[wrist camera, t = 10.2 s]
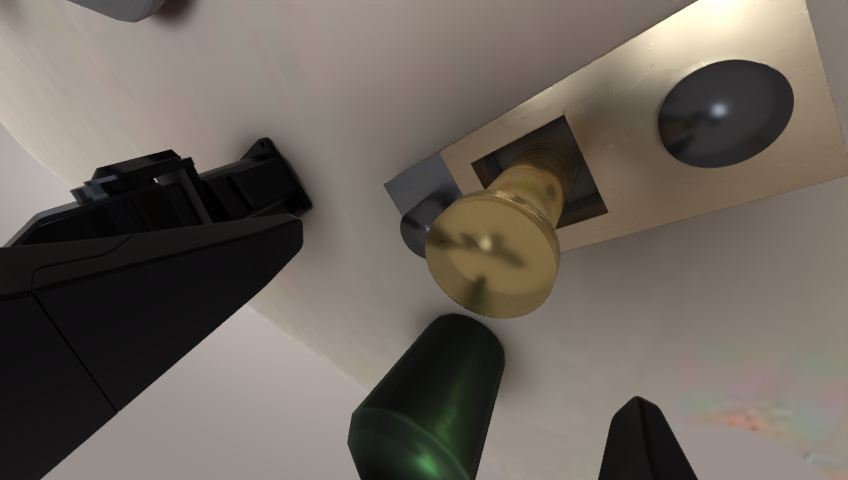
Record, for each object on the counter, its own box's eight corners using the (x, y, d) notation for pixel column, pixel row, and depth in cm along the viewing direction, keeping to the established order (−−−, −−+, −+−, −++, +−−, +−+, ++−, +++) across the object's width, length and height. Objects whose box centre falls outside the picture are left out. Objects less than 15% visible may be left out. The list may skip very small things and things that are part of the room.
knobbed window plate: (447, 263, 24) (420, 297, 21) (395, 177, 23) (359, 199, 20) (814, 149, 13) (869, 185, 10) (758, -37, 11) (804, -62, 8)
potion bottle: (501, 305, 24) (322, 680, 10) (527, 391, 26) (415, 776, 13) (407, 303, 28) (196, 558, 14) (438, 376, 31) (284, 649, 17)
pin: (569, 212, 18) (525, 338, 11) (500, 186, 20) (416, 283, 12) (604, 140, 16) (580, 237, 8) (523, 116, 17) (437, 181, 10)
